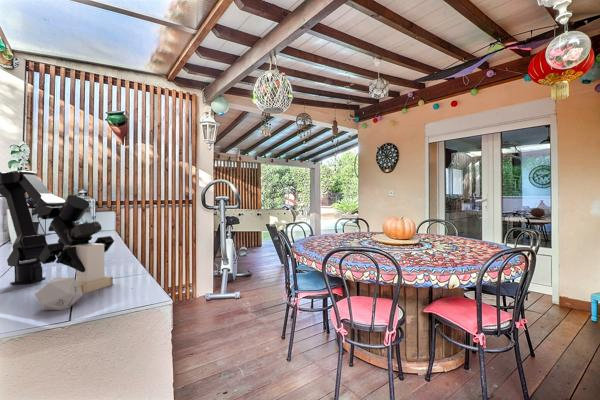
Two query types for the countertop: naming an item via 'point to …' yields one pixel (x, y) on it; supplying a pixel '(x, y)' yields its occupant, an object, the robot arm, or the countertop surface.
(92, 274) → the block
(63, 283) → the die
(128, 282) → the countertop surface
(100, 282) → the lane rack
